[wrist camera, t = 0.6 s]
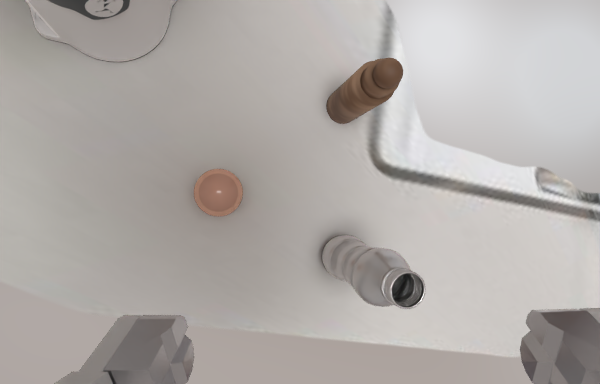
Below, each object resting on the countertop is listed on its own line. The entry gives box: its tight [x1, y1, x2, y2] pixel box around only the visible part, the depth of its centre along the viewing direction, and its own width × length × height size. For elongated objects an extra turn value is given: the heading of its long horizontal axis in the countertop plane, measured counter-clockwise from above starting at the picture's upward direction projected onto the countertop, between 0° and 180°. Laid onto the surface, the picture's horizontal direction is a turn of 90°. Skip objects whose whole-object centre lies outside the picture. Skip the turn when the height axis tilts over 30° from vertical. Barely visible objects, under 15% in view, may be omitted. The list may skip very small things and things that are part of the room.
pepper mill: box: [326, 58, 403, 124], centre depth 44 cm, size 5×5×17 cm
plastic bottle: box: [322, 235, 425, 309], centre depth 42 cm, size 6×7×20 cm
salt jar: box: [194, 169, 243, 216], centre depth 44 cm, size 6×6×9 cm
